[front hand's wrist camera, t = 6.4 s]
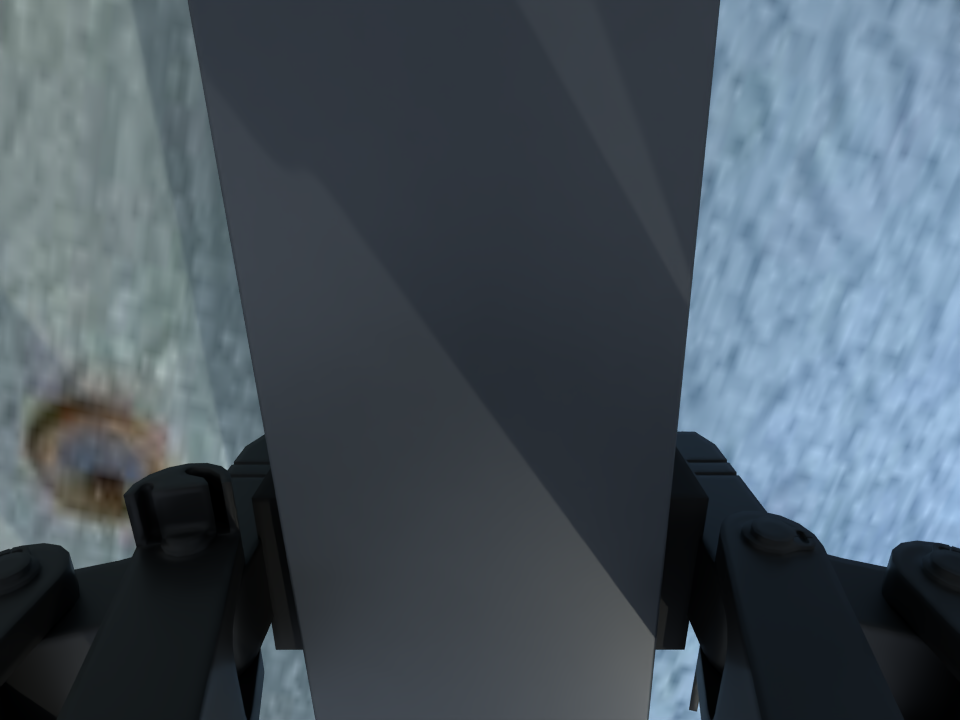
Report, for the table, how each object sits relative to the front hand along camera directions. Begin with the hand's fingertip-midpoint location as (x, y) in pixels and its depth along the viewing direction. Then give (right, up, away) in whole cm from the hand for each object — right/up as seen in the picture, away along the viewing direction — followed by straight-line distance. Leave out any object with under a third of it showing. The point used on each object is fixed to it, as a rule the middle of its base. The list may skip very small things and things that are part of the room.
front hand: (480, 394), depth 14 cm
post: (+1, -22, +9) cm, 24 cm away
